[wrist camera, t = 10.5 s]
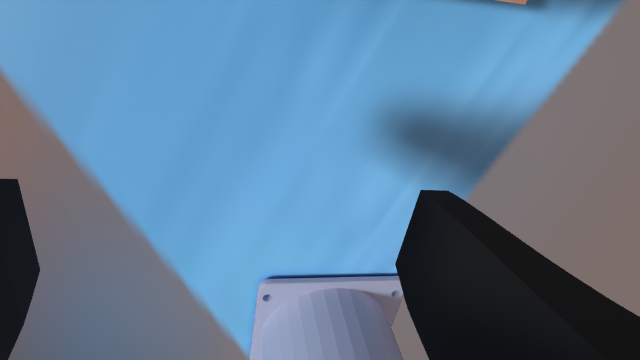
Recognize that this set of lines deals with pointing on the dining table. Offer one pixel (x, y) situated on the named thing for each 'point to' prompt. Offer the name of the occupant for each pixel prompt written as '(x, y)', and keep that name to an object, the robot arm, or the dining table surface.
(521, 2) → the terracotta base
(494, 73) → the dining table surface
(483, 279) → the robot arm
